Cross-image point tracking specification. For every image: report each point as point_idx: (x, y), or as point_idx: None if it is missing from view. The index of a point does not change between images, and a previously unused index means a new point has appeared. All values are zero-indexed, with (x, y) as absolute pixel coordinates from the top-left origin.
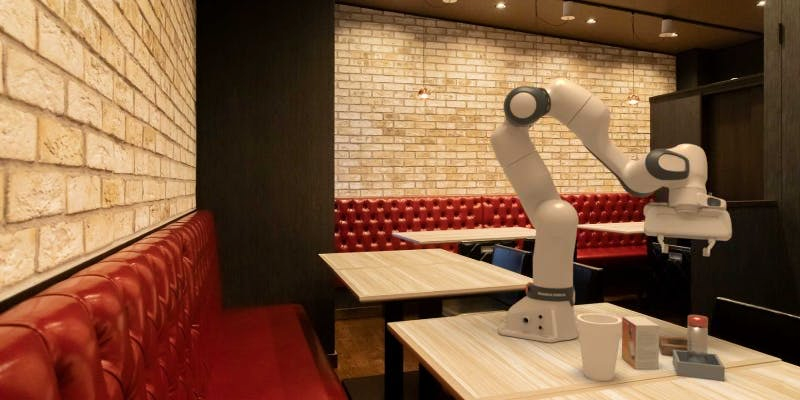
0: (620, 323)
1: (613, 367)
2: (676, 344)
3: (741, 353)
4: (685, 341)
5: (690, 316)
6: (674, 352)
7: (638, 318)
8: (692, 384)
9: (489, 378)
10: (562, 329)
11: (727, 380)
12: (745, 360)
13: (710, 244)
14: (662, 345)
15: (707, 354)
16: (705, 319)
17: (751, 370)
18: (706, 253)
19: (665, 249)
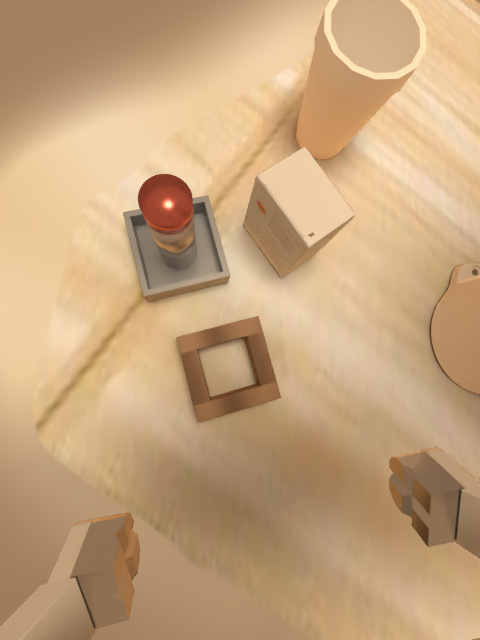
0: (322, 27)
1: (300, 110)
2: (238, 390)
3: (106, 442)
4: (220, 397)
5: (184, 195)
6: (223, 257)
7: (316, 213)
8: (178, 177)
9: (446, 42)
10: (465, 293)
11: (125, 232)
12: (97, 389)
13: (18, 634)
14: (257, 316)
15: (161, 286)
16: (143, 184)
17: (85, 322)
18: (100, 520)
19: (419, 459)
